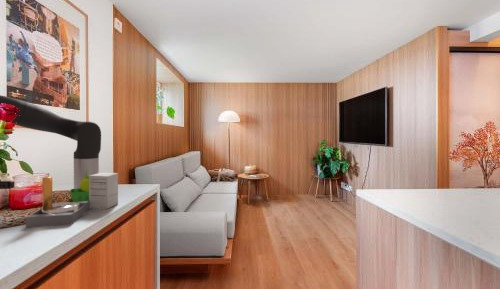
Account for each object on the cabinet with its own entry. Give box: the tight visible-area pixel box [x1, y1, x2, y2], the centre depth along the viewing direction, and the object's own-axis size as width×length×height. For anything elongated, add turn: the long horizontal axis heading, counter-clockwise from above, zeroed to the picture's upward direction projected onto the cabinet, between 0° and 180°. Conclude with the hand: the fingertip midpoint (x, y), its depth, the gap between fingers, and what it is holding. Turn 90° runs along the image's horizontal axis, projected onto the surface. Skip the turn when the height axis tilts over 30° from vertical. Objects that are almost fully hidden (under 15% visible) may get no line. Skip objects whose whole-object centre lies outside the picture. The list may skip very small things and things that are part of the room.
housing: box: [25, 201, 91, 228], centre depth 82 cm, size 16×12×5 cm
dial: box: [41, 176, 79, 214], centre depth 82 cm, size 10×10×12 cm
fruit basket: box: [69, 176, 89, 202], centre depth 101 cm, size 11×9×11 cm
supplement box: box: [89, 172, 119, 210], centre depth 96 cm, size 7×7×13 cm
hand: (12, 184), depth 75 cm, fingers closed
